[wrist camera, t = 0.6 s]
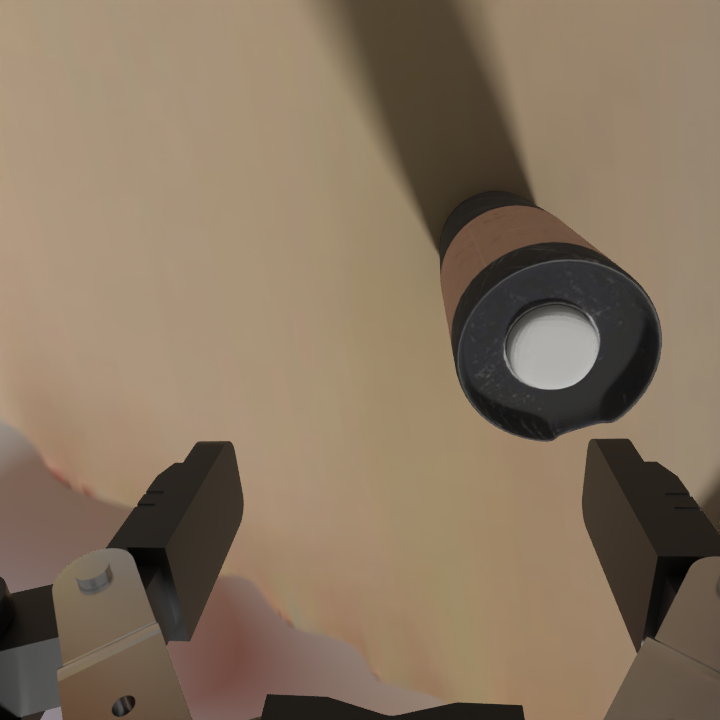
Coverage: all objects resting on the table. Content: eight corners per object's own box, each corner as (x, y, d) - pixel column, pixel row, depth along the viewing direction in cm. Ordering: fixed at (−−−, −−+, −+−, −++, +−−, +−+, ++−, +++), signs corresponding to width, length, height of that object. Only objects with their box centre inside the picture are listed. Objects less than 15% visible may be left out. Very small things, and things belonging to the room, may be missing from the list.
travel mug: (464, 168, 37) (511, 219, 19) (569, 212, 38) (712, 303, 19) (418, 272, 40) (419, 402, 22) (515, 312, 41) (595, 471, 23)
